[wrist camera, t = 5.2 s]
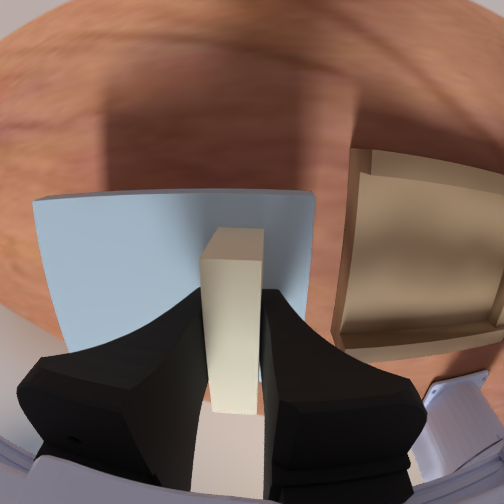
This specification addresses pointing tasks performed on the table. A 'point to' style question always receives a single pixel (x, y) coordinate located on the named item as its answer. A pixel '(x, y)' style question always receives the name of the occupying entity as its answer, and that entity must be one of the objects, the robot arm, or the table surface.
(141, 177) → the table surface
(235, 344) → the lid
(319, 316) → the table surface
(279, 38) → the table surface
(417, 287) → the box
